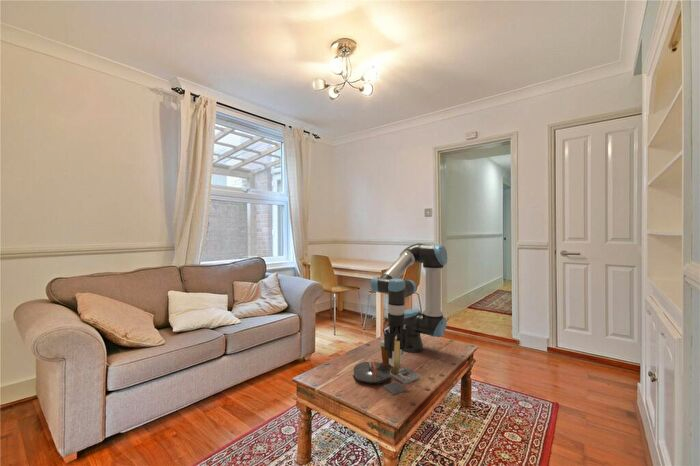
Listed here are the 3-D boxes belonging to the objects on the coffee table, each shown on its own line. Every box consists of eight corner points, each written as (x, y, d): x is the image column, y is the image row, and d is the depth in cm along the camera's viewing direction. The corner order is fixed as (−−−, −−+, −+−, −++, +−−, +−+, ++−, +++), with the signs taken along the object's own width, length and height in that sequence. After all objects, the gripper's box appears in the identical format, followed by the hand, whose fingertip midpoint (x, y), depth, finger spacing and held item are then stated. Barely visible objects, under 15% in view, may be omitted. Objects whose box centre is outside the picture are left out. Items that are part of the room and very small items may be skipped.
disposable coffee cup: (396, 367, 158) (396, 345, 158) (378, 365, 160) (378, 343, 160) (397, 359, 167) (397, 338, 167) (380, 358, 169) (380, 337, 169)
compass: (351, 365, 156) (352, 352, 156) (385, 364, 158) (386, 351, 157) (355, 384, 138) (355, 369, 138) (393, 382, 140) (394, 367, 140)
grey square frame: (405, 371, 154) (406, 366, 154) (418, 379, 146) (418, 374, 146) (392, 375, 149) (392, 371, 149) (404, 384, 141) (404, 379, 141)
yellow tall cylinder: (395, 369, 140) (396, 338, 139) (400, 373, 137) (401, 340, 136) (389, 371, 138) (390, 339, 137) (394, 375, 135) (395, 342, 134)
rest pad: (395, 382, 143) (395, 381, 143) (407, 390, 136) (407, 389, 136) (382, 386, 139) (382, 385, 139) (393, 395, 132) (393, 394, 132)
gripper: (404, 308, 144) (403, 356, 145) (376, 313, 136) (375, 364, 136) (415, 312, 138) (414, 362, 138) (387, 317, 129) (386, 371, 130)
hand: (395, 363), depth 137 cm, fingers closed on yellow tall cylinder, 4 cm apart
